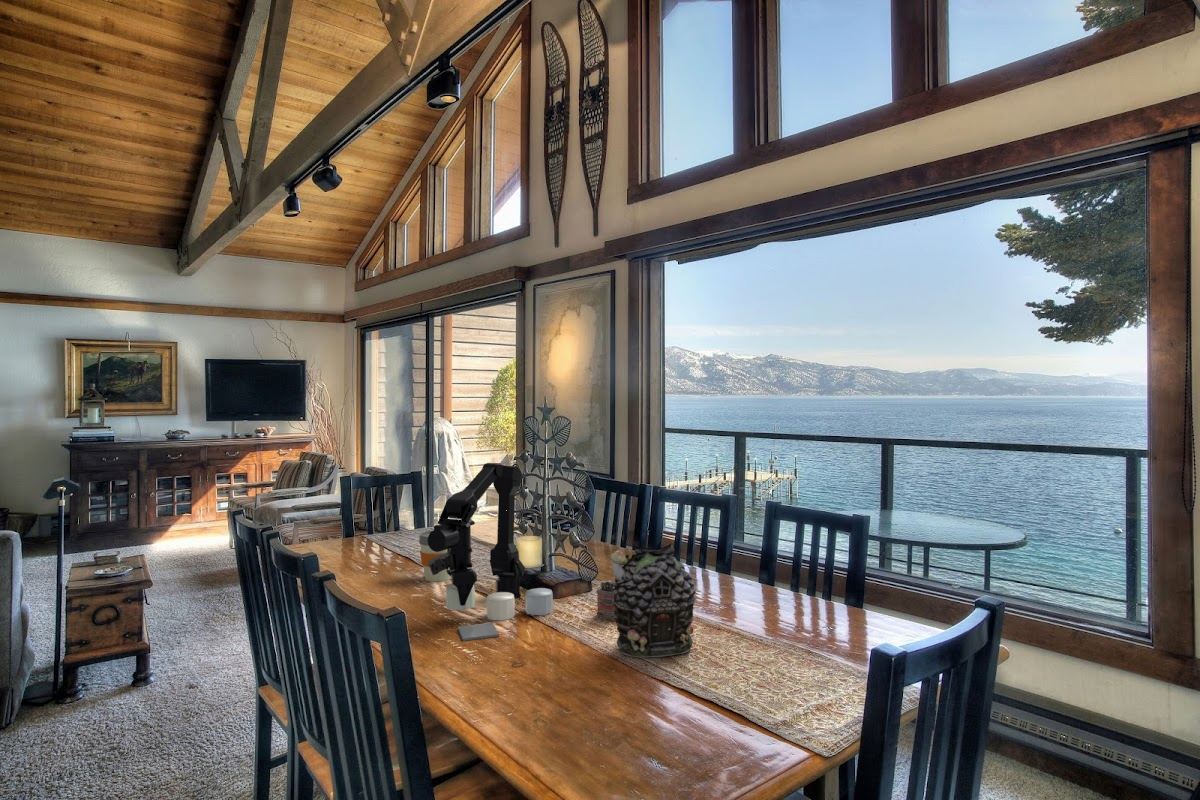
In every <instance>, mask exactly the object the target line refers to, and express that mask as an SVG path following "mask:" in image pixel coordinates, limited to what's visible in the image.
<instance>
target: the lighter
mask: <svg viewBox="0 0 1200 800" xmlns="http://www.w3.org/2000/svg"><path fill="white" fill-rule="evenodd" d="M614 582H615V581H612V580H611V579H608V580H607V581H606V580H600V587H597V588H596V593H597V595H596V596H597V597H596V598H597V601H596V602H597V603H596V605H597V606H596V607H597V610H596V611H597V612H596V617H597V616H598V617H597V618H599V617H601V618H600V619H603V618H605V619H604V620H609V619H612V620H611V621H615V619H614V611H615V606H614V605H613V602H612V601H613V599H614V596H613V593H614V588H615V587H614Z"/></svg>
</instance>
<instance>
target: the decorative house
mask: <svg viewBox="0 0 1200 800" xmlns="http://www.w3.org/2000/svg"><path fill="white" fill-rule="evenodd" d="M655 547H656V548H652V547H651V548H649V547H644V546H640V545H639V546H637V547H635V549H634V552H635V553H634V554H631V557H630V556H629V555H628V554H627V552H625V551H623V550H622V549H618V550H616V551H615V552H613V553H612V554H610V555H611V556H610V559H611V561H612V574H613V576H614V581H613V582H614V587H615V588H614V593H613V596H614V599H613V601H612V602H613V605H614V606H615V611H614V619H615V620H614V622H615V624H616V630H617V632H618V633H619V635H618V637H617V639H616V645H617V647H618V650H619V652H621V653H622V654H623V655H625V656H629V657H633V658H641V659H642V658H645V659H646V658H658V657H659V658H661V657H662V658H663V657H668V656H674V655H680V654H681V655H682V654H686V653H688V652H689V651H690V650H691V648H692V647H693V643H694V639H693V638H692V636H691V635H693V633H694V627H693V625H692V623H693V621H694V605H695V603H696V601H697V599H696V598H695V594H696V593H697V592H696V588H695V583H694V581H693V576H692V573H690V572H688V571H686V568H685V565H684V563H683V561H678V559H677V558H676V557H674V556H673V554H674V552H675V548H674V546H673V545H672V544H668V545H666V546H662V547H660V548H659V547H658V545H656V546H655ZM657 547H658V548H657ZM629 557H630V558H629Z"/></svg>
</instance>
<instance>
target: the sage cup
mask: <svg viewBox="0 0 1200 800" xmlns="http://www.w3.org/2000/svg"><path fill="white" fill-rule="evenodd" d="M475 590H476V589H475V584H474V585H473V587H472V589H471V592H470V594H469V596H468V599H467V601H466V603H465V605H464V606H461V605H460V600H459V595H458V590H457V587H456V586H454V585H453V584H452V582H451V583H449V584H447V585H446V587H445V603H446V604H445V605H446V606H445V607H446V609H448V610H451V611H465V610H468V609H469V610H470V609H471V608H472V609H473V608H474V606H475V605H476V602H475V601H476V595H475Z"/></svg>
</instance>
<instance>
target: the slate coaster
mask: <svg viewBox="0 0 1200 800" xmlns="http://www.w3.org/2000/svg"><path fill="white" fill-rule="evenodd" d="M457 630H458V632H459V635H460V637H461V640H462V641H463V642H466V641H472V640H474V641H475V640H481V639H489V638H496V637H497V638H498V637H500V633H499V632H498V630H497V628H496V627H495V625H494V623H493V622H487V623H480V624H471V625H464V626H458V627H457Z"/></svg>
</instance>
